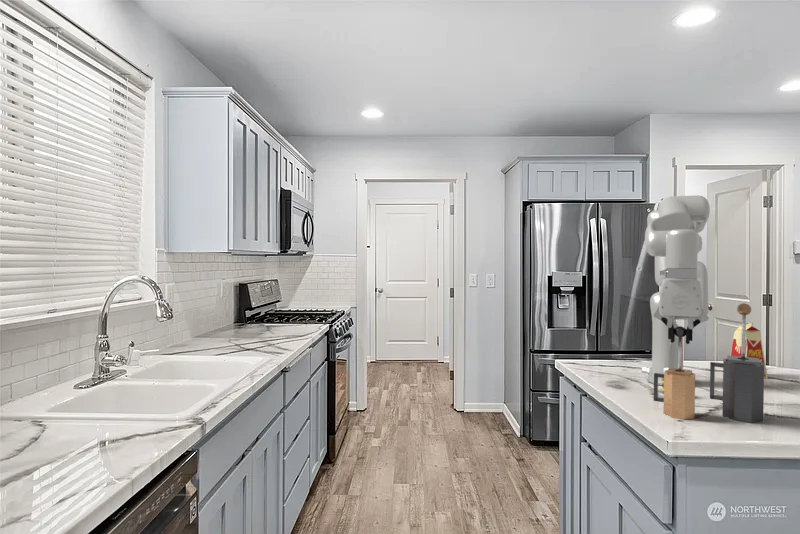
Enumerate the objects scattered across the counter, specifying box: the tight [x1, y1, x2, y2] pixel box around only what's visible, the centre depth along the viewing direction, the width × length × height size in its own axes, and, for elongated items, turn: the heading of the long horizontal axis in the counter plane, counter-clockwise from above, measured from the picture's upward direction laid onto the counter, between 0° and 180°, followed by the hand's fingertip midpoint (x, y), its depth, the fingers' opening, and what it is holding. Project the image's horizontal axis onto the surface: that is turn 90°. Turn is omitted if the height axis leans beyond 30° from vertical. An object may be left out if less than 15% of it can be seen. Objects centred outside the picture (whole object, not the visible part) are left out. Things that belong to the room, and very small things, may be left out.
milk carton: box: [730, 322, 769, 380], centre depth 188 cm, size 9×9×20 cm
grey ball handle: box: [674, 325, 687, 372], centre depth 138 cm, size 3×3×17 cm
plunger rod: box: [736, 302, 752, 360], centre depth 137 cm, size 3×3×21 cm
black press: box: [709, 354, 765, 424], centre depth 138 cm, size 12×9×16 cm
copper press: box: [653, 368, 696, 420], centre depth 139 cm, size 10×7×12 cm
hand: (680, 342), depth 138 cm, fingers closed on grey ball handle, 3 cm apart
